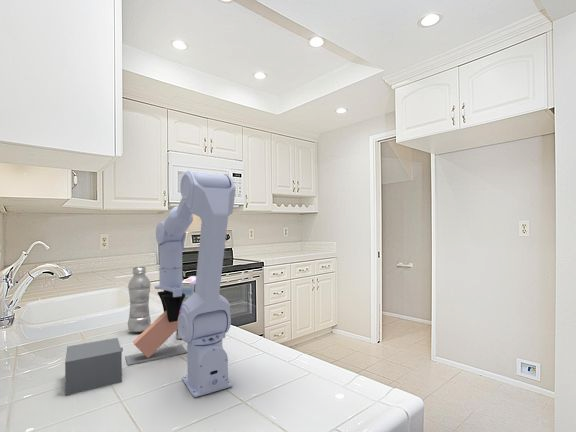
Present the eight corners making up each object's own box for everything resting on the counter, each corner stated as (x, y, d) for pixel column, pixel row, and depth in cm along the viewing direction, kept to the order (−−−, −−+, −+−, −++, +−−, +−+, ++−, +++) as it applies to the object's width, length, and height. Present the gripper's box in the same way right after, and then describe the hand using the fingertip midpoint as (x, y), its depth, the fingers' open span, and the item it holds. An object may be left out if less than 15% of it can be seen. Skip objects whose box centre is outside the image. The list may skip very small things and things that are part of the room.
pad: (187, 352, 85) (187, 351, 85) (127, 366, 78) (127, 364, 78) (181, 345, 91) (181, 344, 91) (125, 357, 83) (125, 356, 83)
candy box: (195, 339, 95) (195, 282, 96) (175, 340, 95) (175, 283, 96) (208, 325, 109) (207, 275, 109) (190, 325, 109) (190, 275, 110)
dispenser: (124, 381, 70) (123, 350, 71) (65, 395, 65) (65, 362, 65) (119, 364, 79) (119, 337, 79) (67, 375, 73) (67, 346, 74)
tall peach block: (182, 323, 86) (170, 310, 85) (148, 358, 81) (134, 344, 80) (179, 321, 89) (167, 308, 88) (146, 355, 84) (132, 341, 82)
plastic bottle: (135, 328, 107) (135, 266, 107) (155, 328, 106) (154, 266, 106) (123, 334, 101) (122, 269, 101) (143, 335, 100) (143, 269, 100)
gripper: (149, 266, 91) (150, 315, 90) (160, 272, 78) (160, 329, 78) (176, 264, 94) (176, 311, 94) (190, 269, 82) (190, 324, 82)
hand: (171, 319), depth 86 cm, fingers closed on tall peach block, 3 cm apart
